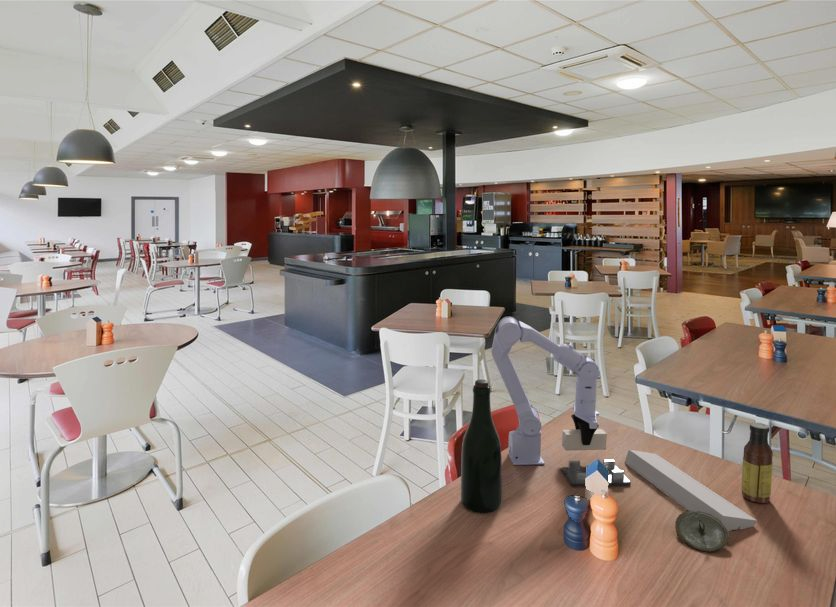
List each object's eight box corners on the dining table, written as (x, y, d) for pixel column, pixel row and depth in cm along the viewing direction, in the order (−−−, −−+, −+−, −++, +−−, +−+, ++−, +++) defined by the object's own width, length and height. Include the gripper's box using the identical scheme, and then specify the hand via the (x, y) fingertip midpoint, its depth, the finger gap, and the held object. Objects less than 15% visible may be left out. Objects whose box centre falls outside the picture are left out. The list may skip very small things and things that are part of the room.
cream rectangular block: (565, 450, 143) (566, 434, 142) (562, 445, 147) (562, 429, 146) (605, 449, 143) (606, 433, 143) (601, 444, 147) (602, 428, 146)
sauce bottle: (768, 495, 126) (776, 423, 123) (771, 507, 121) (779, 432, 118) (738, 488, 130) (745, 418, 126) (739, 500, 124) (747, 427, 121)
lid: (729, 536, 110) (731, 516, 110) (725, 560, 103) (727, 539, 102) (678, 520, 117) (679, 500, 116) (670, 541, 109) (672, 521, 108)
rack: (572, 487, 132) (572, 475, 131) (561, 470, 141) (562, 459, 140) (630, 485, 132) (631, 473, 132) (616, 468, 141) (617, 457, 140)
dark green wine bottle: (508, 500, 126) (510, 378, 121) (490, 520, 118) (491, 390, 112) (472, 488, 132) (472, 372, 127) (453, 507, 123) (452, 383, 118)
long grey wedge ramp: (651, 468, 147) (624, 464, 144) (656, 454, 146) (628, 449, 144) (750, 539, 114) (717, 534, 111) (757, 520, 113) (723, 515, 111)
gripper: (609, 407, 135) (606, 452, 138) (589, 389, 150) (587, 431, 152) (584, 407, 135) (582, 453, 137) (567, 390, 150) (565, 431, 152)
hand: (583, 441), depth 145 cm, fingers closed on cream rectangular block, 3 cm apart
